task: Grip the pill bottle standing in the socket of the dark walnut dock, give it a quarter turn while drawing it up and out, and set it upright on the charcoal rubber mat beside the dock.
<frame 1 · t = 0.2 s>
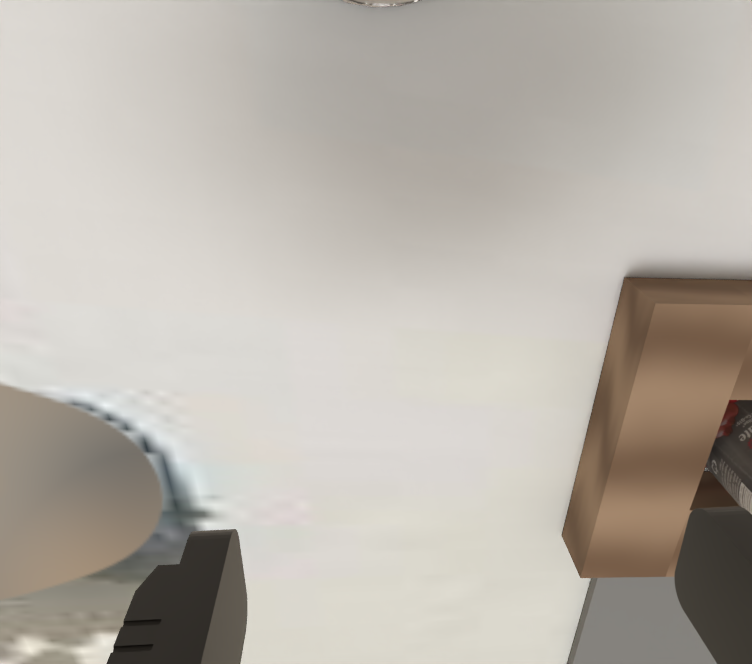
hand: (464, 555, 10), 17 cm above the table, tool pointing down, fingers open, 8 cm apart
walnut dock: (736, 422, 31), on the table
charcoal mat: (661, 621, 38), on the table
pill bottle: (733, 419, 31), resting in walnut dock
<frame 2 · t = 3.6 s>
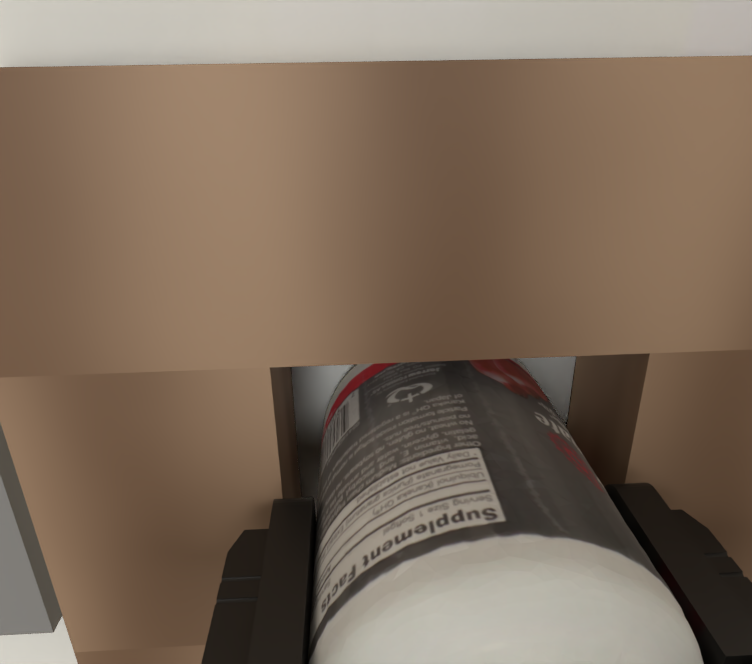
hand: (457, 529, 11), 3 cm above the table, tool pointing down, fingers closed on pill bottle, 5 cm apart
walnut dock: (433, 426, 14), on the table
pill bottle: (431, 421, 14), resting in walnut dock, touching gripper
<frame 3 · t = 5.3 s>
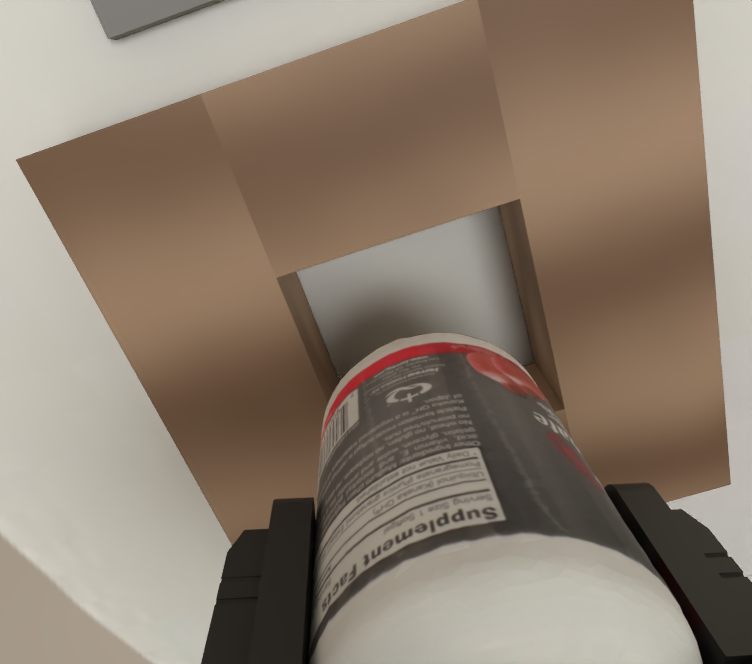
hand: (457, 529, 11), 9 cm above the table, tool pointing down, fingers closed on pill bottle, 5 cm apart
walnut dock: (417, 308, 19), on the table
pill bottle: (430, 421, 14), point 6 cm above the table, touching gripper
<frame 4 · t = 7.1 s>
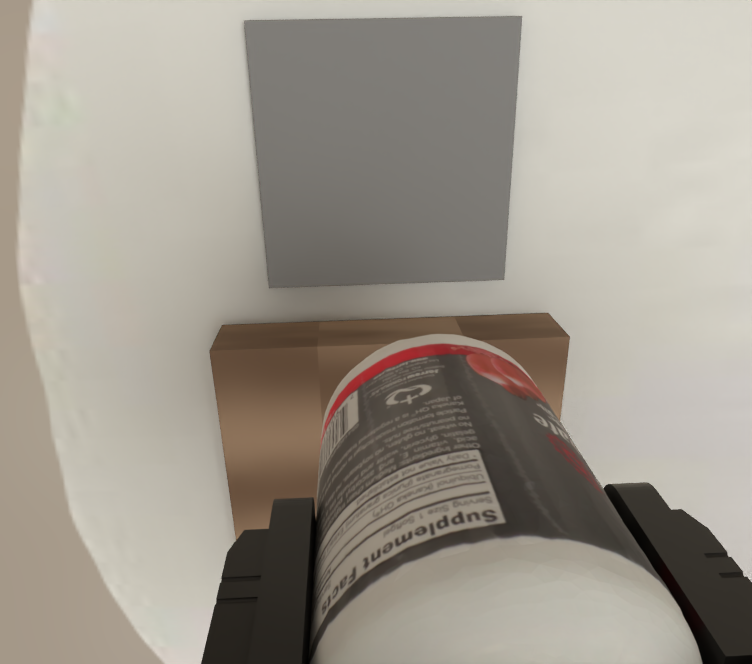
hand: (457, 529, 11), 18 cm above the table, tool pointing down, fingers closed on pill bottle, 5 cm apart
walnut dock: (388, 456, 32), on the table
charcoal mat: (385, 160, 26), on the table
pill bottle: (430, 422, 14), point 14 cm above the table, touching gripper
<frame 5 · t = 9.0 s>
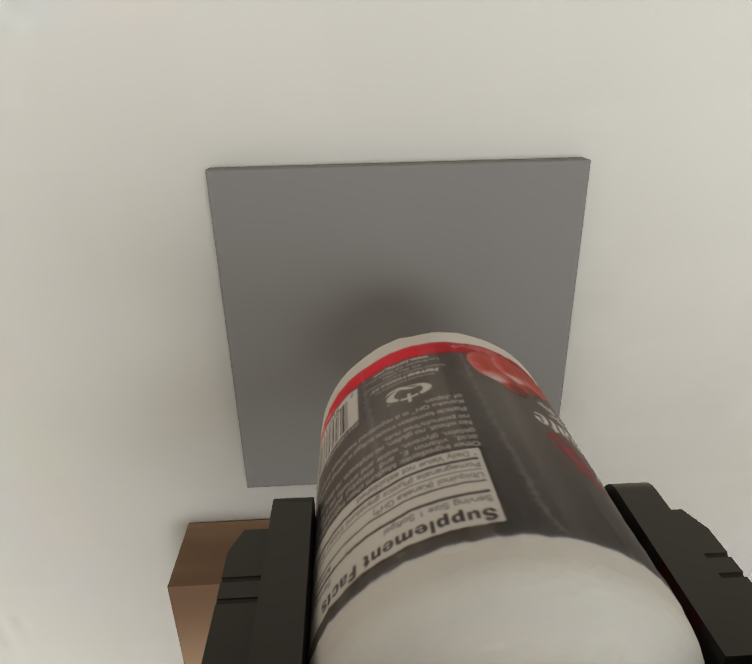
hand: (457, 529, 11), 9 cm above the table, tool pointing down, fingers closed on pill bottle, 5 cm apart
walnut dock: (400, 656, 26), on the table
charcoal mat: (399, 333, 20), on the table
pill bottle: (430, 421, 14), point 6 cm above the table, touching gripper
when the fingers open (6 cm above the table, at t = 10.6 s): pill bottle drops 1 cm, resting on charcoal mat.
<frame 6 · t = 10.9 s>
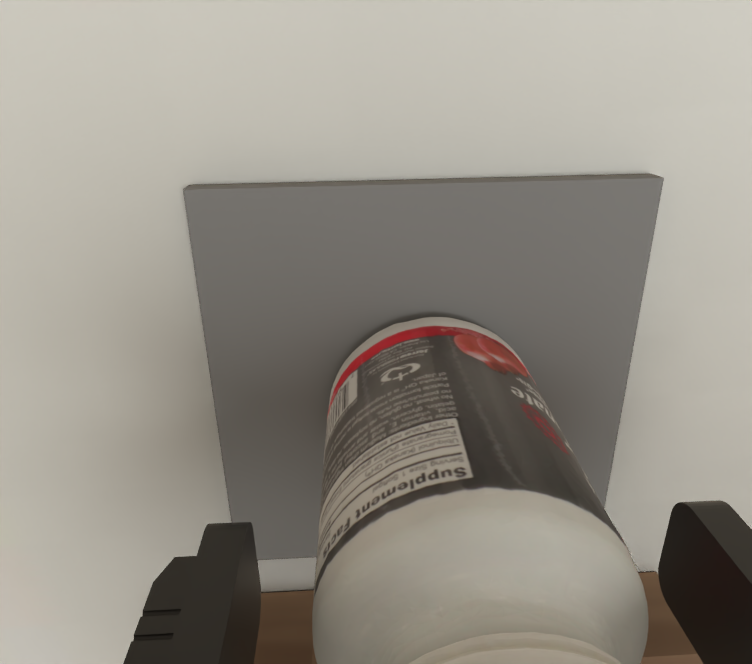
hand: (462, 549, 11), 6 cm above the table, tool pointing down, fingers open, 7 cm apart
charcoal mat: (420, 383, 16), on the table
pill bottle: (428, 398, 16), resting on charcoal mat
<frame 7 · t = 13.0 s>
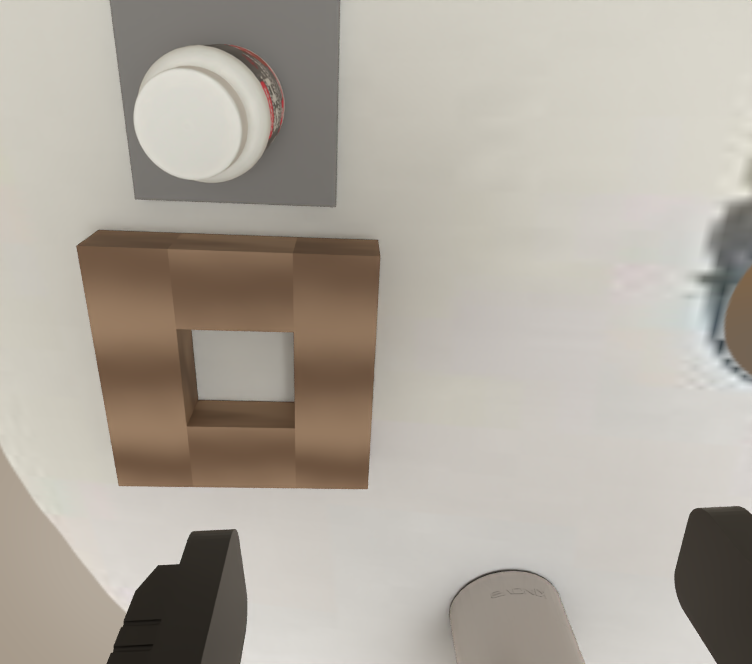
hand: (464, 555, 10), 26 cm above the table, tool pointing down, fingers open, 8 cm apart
walnut dock: (246, 357, 38), on the table
charcoal mat: (232, 96, 31), on the table
pill bottle: (234, 100, 31), resting on charcoal mat
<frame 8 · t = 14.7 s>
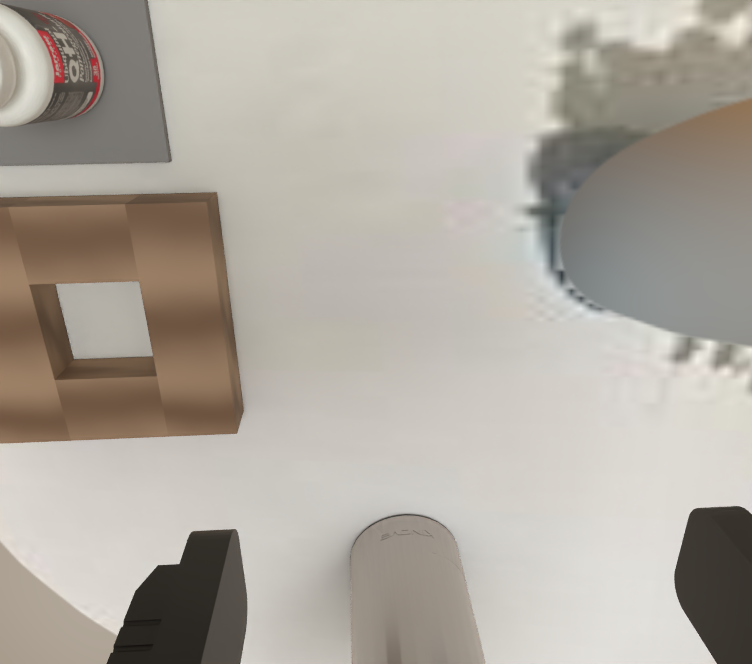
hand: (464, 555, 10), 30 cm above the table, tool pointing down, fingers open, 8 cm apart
walnut dock: (112, 314, 40), on the table
charcoal mat: (59, 63, 34), on the table
pill bottle: (59, 67, 33), resting on charcoal mat
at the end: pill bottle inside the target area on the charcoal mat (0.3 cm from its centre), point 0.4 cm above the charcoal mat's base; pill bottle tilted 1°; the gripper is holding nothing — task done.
